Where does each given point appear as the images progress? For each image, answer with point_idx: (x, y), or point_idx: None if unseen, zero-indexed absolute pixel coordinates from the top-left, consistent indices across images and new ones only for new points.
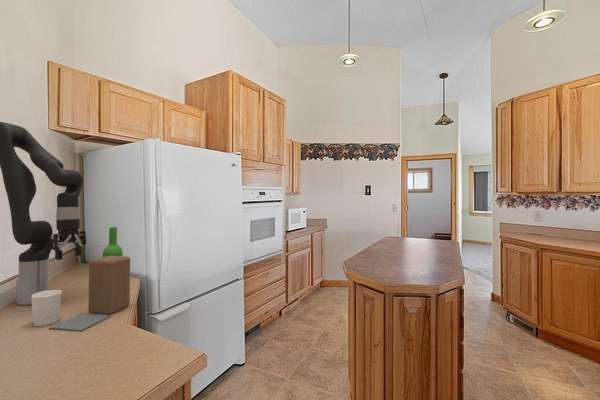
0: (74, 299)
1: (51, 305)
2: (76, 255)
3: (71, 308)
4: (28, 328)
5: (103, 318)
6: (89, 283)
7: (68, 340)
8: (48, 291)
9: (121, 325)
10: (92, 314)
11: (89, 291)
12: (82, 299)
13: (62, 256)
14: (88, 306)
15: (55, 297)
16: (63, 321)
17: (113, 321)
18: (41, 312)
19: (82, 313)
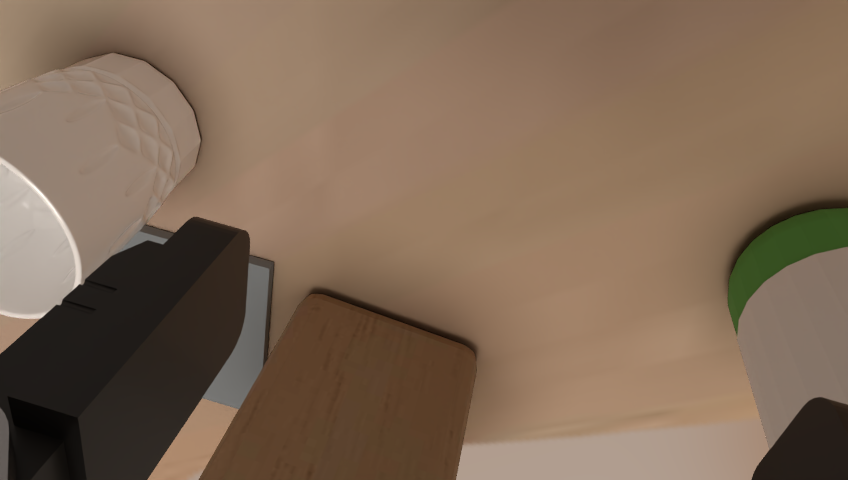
0: (675, 8)
1: (22, 245)
2: (799, 420)
3: (397, 133)
4: (35, 73)
5: (216, 398)
6: (209, 463)
7: (9, 339)
8: (42, 192)
9: (182, 463)
10: (260, 334)
11: (240, 408)
12: (654, 95)
13: (202, 392)
14: (294, 316)
15: (3, 293)
16: (140, 235)
17: (215, 429)
18: (8, 178)
19: (269, 277)
